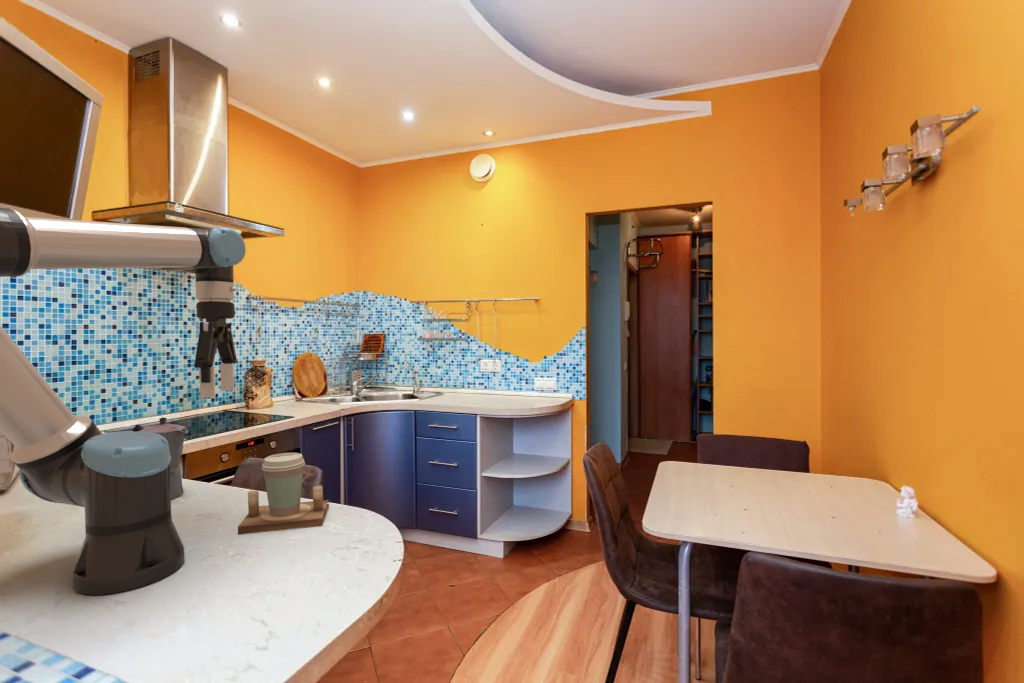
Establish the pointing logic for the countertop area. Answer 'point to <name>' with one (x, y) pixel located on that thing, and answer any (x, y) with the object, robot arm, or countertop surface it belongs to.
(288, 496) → the coffee cup
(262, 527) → the rest board
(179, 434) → the moka pot
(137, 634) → the countertop surface
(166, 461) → the robot arm
